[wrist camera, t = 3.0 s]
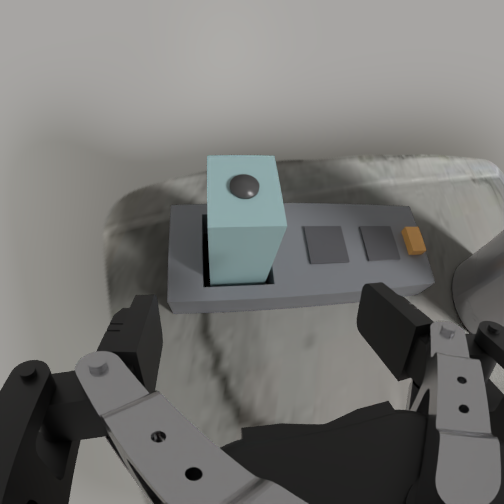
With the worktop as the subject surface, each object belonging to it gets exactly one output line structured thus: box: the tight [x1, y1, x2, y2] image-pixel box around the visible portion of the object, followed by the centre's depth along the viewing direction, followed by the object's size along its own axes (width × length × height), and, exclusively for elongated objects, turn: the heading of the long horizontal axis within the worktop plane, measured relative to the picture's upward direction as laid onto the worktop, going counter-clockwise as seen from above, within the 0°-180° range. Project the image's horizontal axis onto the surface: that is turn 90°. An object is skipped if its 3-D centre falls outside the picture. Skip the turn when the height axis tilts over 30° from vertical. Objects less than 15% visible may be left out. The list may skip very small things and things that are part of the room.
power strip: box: [167, 203, 435, 314], centre depth 24 cm, size 22×8×4 cm, turn 95°
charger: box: [207, 155, 287, 287], centre depth 20 cm, size 4×5×10 cm
